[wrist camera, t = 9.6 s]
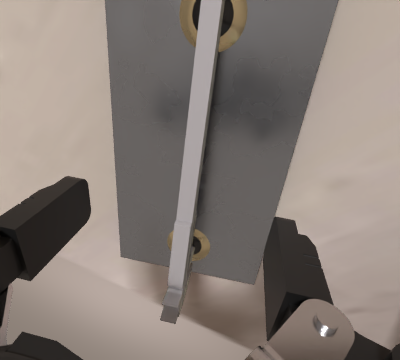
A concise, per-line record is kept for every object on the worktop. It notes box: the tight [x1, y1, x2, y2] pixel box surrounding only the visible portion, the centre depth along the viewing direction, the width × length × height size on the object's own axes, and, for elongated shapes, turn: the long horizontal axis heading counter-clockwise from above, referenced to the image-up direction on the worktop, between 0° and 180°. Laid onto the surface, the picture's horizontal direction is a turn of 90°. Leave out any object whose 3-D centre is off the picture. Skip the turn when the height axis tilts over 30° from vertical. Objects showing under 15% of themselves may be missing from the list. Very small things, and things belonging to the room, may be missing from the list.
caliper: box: [160, 0, 225, 324], centre depth 14 cm, size 20×1×6 cm, turn 174°
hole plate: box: [105, 0, 338, 285], centre depth 18 cm, size 12×22×1 cm, turn 174°
